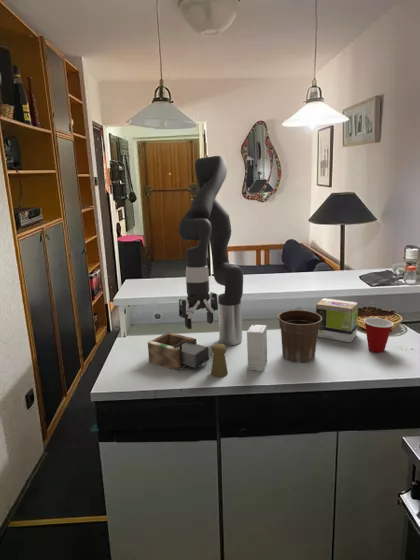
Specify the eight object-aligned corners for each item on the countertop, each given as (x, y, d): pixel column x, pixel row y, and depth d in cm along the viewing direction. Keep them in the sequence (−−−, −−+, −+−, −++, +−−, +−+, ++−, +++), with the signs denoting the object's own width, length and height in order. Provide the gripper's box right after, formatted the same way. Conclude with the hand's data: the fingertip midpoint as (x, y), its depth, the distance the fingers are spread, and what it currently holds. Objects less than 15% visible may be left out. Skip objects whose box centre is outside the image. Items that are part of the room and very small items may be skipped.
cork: (226, 377, 150) (225, 349, 147) (209, 376, 151) (208, 348, 148) (229, 369, 155) (228, 341, 152) (212, 368, 157) (211, 341, 154)
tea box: (356, 334, 182) (359, 301, 178) (350, 343, 174) (352, 309, 170) (322, 328, 190) (323, 296, 186) (314, 336, 182) (315, 303, 178)
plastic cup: (395, 348, 167) (398, 320, 164) (384, 358, 160) (387, 328, 157) (368, 341, 175) (370, 314, 171) (357, 350, 167) (358, 321, 164)
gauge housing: (197, 358, 165) (196, 337, 163) (178, 370, 156) (176, 349, 154) (168, 350, 173) (167, 331, 171) (149, 362, 163) (147, 341, 161)
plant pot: (293, 343, 175) (294, 306, 171) (328, 355, 164) (330, 315, 160) (268, 356, 164) (269, 317, 160) (304, 370, 153) (306, 328, 149)
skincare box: (263, 371, 153) (263, 333, 149) (246, 369, 155) (246, 331, 151) (267, 361, 161) (267, 324, 157) (251, 359, 162) (251, 323, 159)
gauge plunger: (209, 359, 159) (208, 340, 157) (193, 370, 151) (192, 351, 149) (187, 353, 165) (186, 335, 163) (171, 364, 157) (169, 345, 155)
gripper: (208, 274, 148) (210, 319, 152) (173, 280, 140) (175, 327, 144) (221, 277, 142) (223, 324, 146) (185, 284, 134) (187, 333, 138)
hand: (199, 325), depth 145 cm, fingers open, 8 cm apart
